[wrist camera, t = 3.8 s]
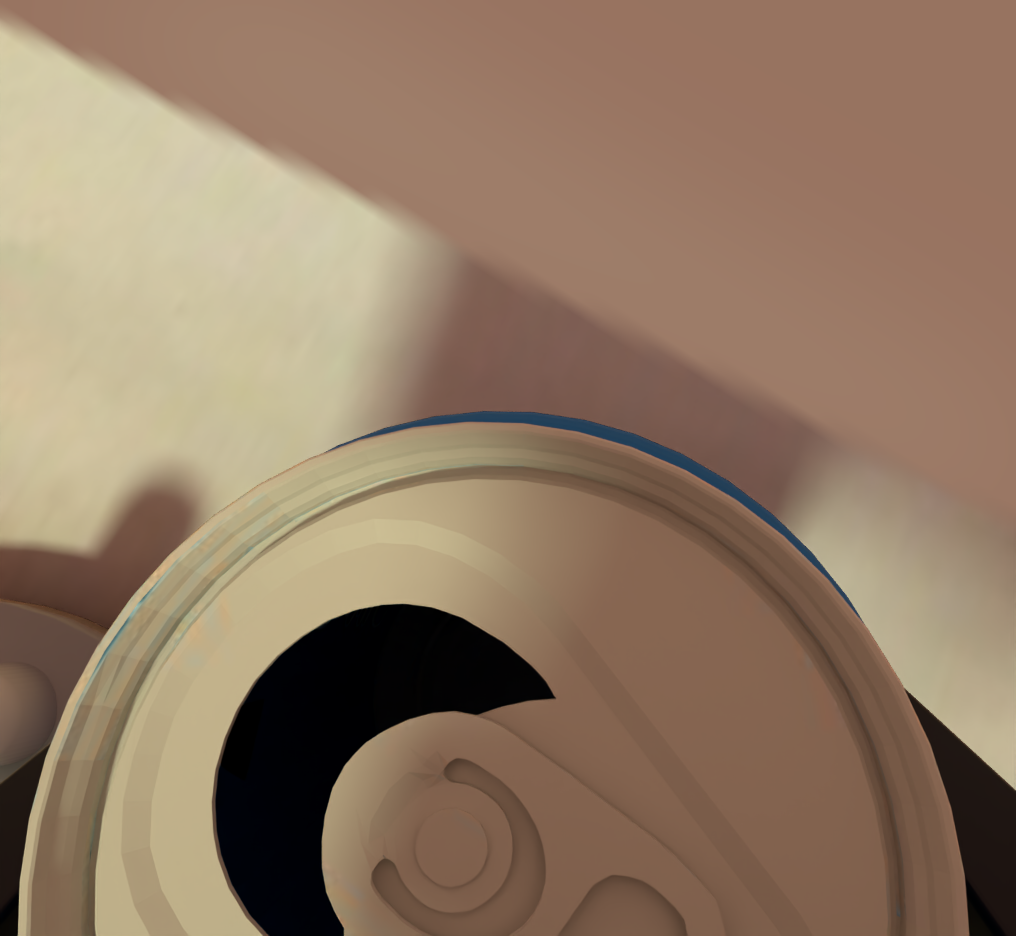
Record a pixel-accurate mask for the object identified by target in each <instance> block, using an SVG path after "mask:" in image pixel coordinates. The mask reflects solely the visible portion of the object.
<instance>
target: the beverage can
mask: <svg viewBox="0 0 1016 936" xmlns="http://www.w3.org/2000/svg"><path fill="white" fill-rule="evenodd" d="M261 699H265V700H264V705H263V709H262V713H261V718H260V722H259V726H258V731H257V735H256V739H255V743H254V748H253V752H252V756H251V760H250V764H249V768H248V772H247V776H246V779H245V780H242V779H240V778H239V777H237V776H235V775H233V774H232V773H230V772H229V771H227V770H226V769H225V768H223V767H222V766H221V759H222V756H223V752H224V749H225V745H226V741H227V738H228V735H229V733H230V731H231V729H232V726H233V724H234V722H235V719H236V717H237V715H238V712H239V710H240V708H241V706H242V705H243V704H247V703H250V702H254V701H258V700H261ZM18 936H969V924H968V911H967V898H966V885H965V875H964V870H963V865H962V860H961V855H960V850H959V845H958V840H957V835H956V830H955V825H954V820H953V815H952V810H951V806H950V803H949V800H948V797H947V794H946V791H945V788H944V785H943V782H942V779H941V776H940V773H939V770H938V767H937V764H936V761H935V757H934V754H933V751H932V748H931V745H930V743H929V741H928V738H927V736H926V734H925V732H924V730H923V728H922V726H921V723H920V721H919V719H918V717H917V715H916V713H915V711H914V709H913V706H912V704H911V702H910V700H909V698H908V696H907V694H906V691H905V689H904V687H903V685H902V683H901V681H900V680H899V678H898V677H897V675H896V673H895V672H894V670H893V669H892V667H891V665H890V664H889V662H888V661H887V659H886V657H885V656H884V654H883V653H882V651H881V649H880V648H879V646H878V644H877V643H876V641H875V640H874V638H873V636H872V635H871V633H870V632H869V630H868V628H867V627H866V626H865V624H864V623H863V621H862V619H861V618H860V616H859V615H858V613H857V611H856V610H855V608H854V607H853V605H852V603H851V602H850V600H849V598H848V597H847V596H846V594H845V593H844V592H843V591H842V589H841V588H840V587H839V586H838V584H837V583H836V582H835V581H834V580H833V578H832V577H831V576H830V575H829V573H828V572H827V571H826V570H825V568H824V567H823V566H822V565H821V563H820V562H819V561H818V560H817V558H816V557H815V556H814V555H813V553H812V552H811V551H810V550H809V549H808V548H807V547H806V546H805V545H804V544H802V543H801V542H800V541H799V540H798V539H797V538H796V537H795V536H794V535H793V534H792V533H791V532H790V531H789V530H788V529H787V528H786V527H785V526H784V525H783V524H782V523H781V522H780V521H779V520H778V519H777V518H776V517H775V516H774V515H773V514H772V513H770V512H769V511H768V510H766V509H765V508H764V507H762V506H761V505H760V504H758V503H757V502H756V501H754V500H753V499H752V498H750V497H749V496H748V495H746V494H745V493H744V492H743V491H741V490H740V489H739V488H737V487H736V486H735V485H733V484H732V483H731V482H729V481H728V480H726V479H724V478H723V477H721V476H719V475H717V474H716V473H714V472H712V471H711V470H709V469H707V468H705V467H704V466H702V465H700V464H698V463H697V462H695V461H693V460H692V459H690V458H688V457H686V456H685V455H683V454H681V453H678V452H676V451H674V450H671V449H669V448H667V447H664V446H662V445H659V444H657V443H655V442H652V441H650V440H648V439H645V438H643V437H641V436H638V435H636V434H633V433H629V432H626V431H622V430H619V429H615V428H612V427H608V426H605V425H601V424H598V423H594V422H590V421H587V420H582V419H575V418H569V417H562V416H555V415H549V414H542V413H535V412H494V411H482V412H472V413H463V414H453V415H444V416H434V417H430V418H426V419H421V420H417V421H413V422H409V423H404V424H400V425H396V426H392V427H387V428H384V429H381V430H378V431H376V432H373V433H370V434H368V435H365V436H362V437H360V438H357V439H354V440H352V441H349V442H346V443H343V444H341V445H338V446H336V447H334V448H332V449H330V450H328V451H326V452H325V453H323V454H320V455H317V456H315V457H312V458H309V459H307V460H305V461H303V462H301V463H299V464H297V465H295V466H293V467H292V468H290V469H288V470H286V471H284V472H282V473H280V474H278V475H276V476H274V477H272V478H270V479H268V480H266V481H265V482H263V483H261V484H259V485H257V486H256V487H254V488H253V489H252V490H250V491H249V492H247V493H246V494H244V495H243V496H241V497H240V498H238V499H237V500H236V501H234V502H233V503H231V504H230V505H228V506H227V507H225V508H224V509H222V510H221V511H220V512H218V513H217V514H215V515H214V516H212V517H211V518H210V519H209V520H208V521H207V522H206V523H204V524H203V525H202V526H201V527H200V528H199V529H198V530H196V531H195V532H194V533H193V534H192V535H191V536H190V537H189V538H187V539H186V540H185V541H184V542H183V543H182V544H181V545H179V546H178V547H177V548H176V549H175V550H174V551H173V552H172V553H170V554H169V556H168V557H167V558H166V559H165V560H164V561H163V562H162V563H161V565H160V566H159V567H158V568H157V569H156V570H155V571H154V572H153V574H152V575H151V576H150V577H149V578H148V579H147V580H146V581H145V582H144V584H143V585H142V586H141V587H140V588H139V589H138V590H137V591H136V593H135V594H134V595H133V596H132V597H131V598H130V600H129V601H128V603H127V604H126V606H125V607H124V608H123V610H122V611H121V613H120V614H119V616H118V617H117V619H116V620H115V621H114V623H113V624H112V626H111V627H110V629H109V630H108V631H107V633H106V634H105V636H104V637H103V639H102V640H101V641H100V643H99V644H98V646H97V648H96V649H95V651H94V653H93V655H92V657H91V659H90V661H89V662H88V664H87V666H86V668H85V670H84V672H83V674H82V675H81V677H80V679H79V681H78V683H77V685H76V687H75V688H74V690H73V692H72V694H71V696H70V698H69V700H68V702H67V705H66V707H65V710H64V712H63V715H62V717H61V720H60V722H59V725H58V727H57V730H56V732H55V735H54V737H53V740H52V742H51V745H50V748H49V750H48V753H47V755H46V758H45V762H44V765H43V769H42V773H41V777H40V780H39V784H38V788H37V791H36V795H35V799H34V803H33V806H32V810H31V814H30V817H29V824H28V830H27V837H26V844H25V850H24V857H23V864H22V870H21V877H20V889H19V919H18Z"/></svg>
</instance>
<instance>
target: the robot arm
mask: <svg viewBox="0 0 1016 936" xmlns="http://www.w3.org/2000/svg"><path fill="white" fill-rule="evenodd" d="M904 689H905V688H904ZM905 691H906V694H907V696H908V698H909V700H910V702H911V704H912V706H913V709H914V711H915V713H916V715H917V717H918V719H919V721H920V723H921V726H922V728H923V730H924V732H925V734H926V736H927V738H928V741H929V743H930V745H931V748H932V751H933V754H934V757H935V761H936V764H937V767H938V770H939V773H940V776H941V779H942V782H943V785H944V788H945V791H946V794H947V797H948V800H949V803H950V806H951V810H952V815H953V820H954V825H955V830H956V835H957V840H958V845H959V850H960V855H961V860H962V865H963V870H964V875H965V885H966V898H967V911H968V924H969V936H1016V790H1015V789H1014V788H1013V787H1012V786H1010V785H1009V784H1008V783H1007V782H1006V781H1005V780H1004V779H1003V778H1002V777H1001V776H1000V775H998V774H997V773H996V772H995V771H994V770H993V769H992V768H991V767H990V766H989V765H988V764H986V763H985V762H984V761H983V760H982V759H981V758H980V757H979V756H978V755H977V754H976V753H974V752H973V751H972V750H971V749H970V748H969V747H968V746H967V745H966V744H965V743H964V742H962V741H961V740H960V739H959V738H958V737H957V736H956V735H955V734H954V733H953V732H952V731H950V730H949V729H948V728H947V727H946V726H945V725H944V724H943V723H942V722H941V721H940V720H938V719H937V718H936V717H935V716H934V715H933V714H932V713H931V712H930V711H929V710H928V709H926V708H925V707H924V706H923V705H922V704H921V703H920V702H919V701H918V700H917V699H916V698H914V697H913V696H912V695H911V694H910V693H909V692H908V691H907V690H906V689H905ZM264 700H265V699H261V700H258V701H254V702H250V703H247V704H243V705H242V706H241V708H240V710H239V712H238V715H237V717H236V719H235V722H234V724H233V726H232V729H231V731H230V733H229V735H228V738H227V741H226V745H225V749H224V752H223V756H222V759H221V766H222V767H223V768H225V769H226V770H227V771H229V772H230V773H232V774H233V775H235V776H237V777H239V778H240V779H242V780H245V779H246V776H247V772H248V768H249V764H250V760H251V756H252V752H253V748H254V743H255V739H256V735H257V731H258V726H259V722H260V718H261V713H262V709H263V705H264ZM50 745H51V743H49V744H48V745H47V746H46V747H44V748H43V749H42V750H41V751H39V752H38V753H37V754H36V755H34V756H33V757H32V758H31V759H30V760H28V761H27V762H26V763H25V764H23V765H22V766H21V767H20V768H18V769H17V770H16V771H15V772H13V773H12V774H11V775H10V776H8V777H7V778H6V779H5V780H3V781H2V782H1V783H0V936H18V919H19V889H20V877H21V870H22V864H23V857H24V850H25V844H26V837H27V830H28V824H29V817H30V814H31V810H32V806H33V803H34V799H35V795H36V791H37V788H38V784H39V780H40V777H41V773H42V769H43V765H44V762H45V758H46V755H47V753H48V750H49V748H50Z"/></svg>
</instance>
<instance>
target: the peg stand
mask: <svg viewBox="0 0 1016 936" xmlns="http://www.w3.org/2000/svg"><path fill="white" fill-rule="evenodd" d="M108 630H109V629H107V628H105V627H102V626H100V625H98V624H96V623H94V622H92V621H90V620H88V619H85V618H82V617H79V616H76V615H73V614H70V613H66V612H63V611H60V610H57V609H54V608H51V607H47V606H43V605H37V604H31V603H25V602H19V601H12V600H6V599H0V783H1V782H2V781H3V780H5V779H6V778H7V777H8V776H10V775H11V774H12V773H13V772H15V771H16V770H17V769H18V768H20V767H21V766H22V765H23V764H25V763H26V762H27V761H28V760H30V759H31V758H32V757H33V756H34V755H36V754H37V753H38V752H39V751H41V750H42V749H43V748H44V747H46V746H47V745H48V744H49V743H51V742H52V740H53V737H54V735H55V732H56V730H57V727H58V725H59V722H60V720H61V717H62V715H63V712H64V710H65V707H66V705H67V702H68V700H69V698H70V696H71V694H72V692H73V690H74V688H75V687H76V685H77V683H78V681H79V679H80V677H81V675H82V674H83V672H84V670H85V668H86V666H87V664H88V662H89V661H90V659H91V657H92V655H93V653H94V651H95V649H96V648H97V646H98V644H99V643H100V641H101V640H102V639H103V637H104V636H105V634H106V633H107V631H108Z"/></svg>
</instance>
